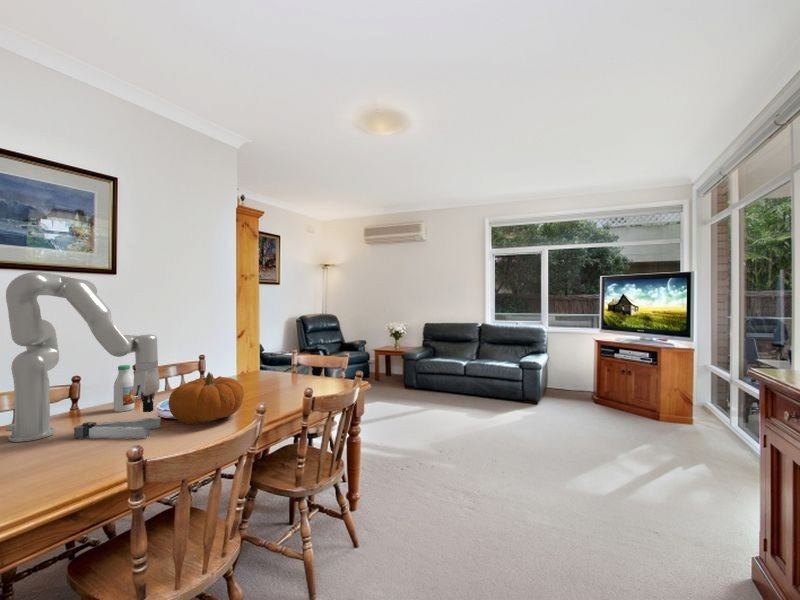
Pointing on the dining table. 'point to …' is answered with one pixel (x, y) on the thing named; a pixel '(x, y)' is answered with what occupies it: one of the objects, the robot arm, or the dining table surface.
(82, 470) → the dining table surface
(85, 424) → the arm
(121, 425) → the tongs free arm
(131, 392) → the milk bottle
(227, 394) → the pumpkin
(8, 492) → the dining table surface
